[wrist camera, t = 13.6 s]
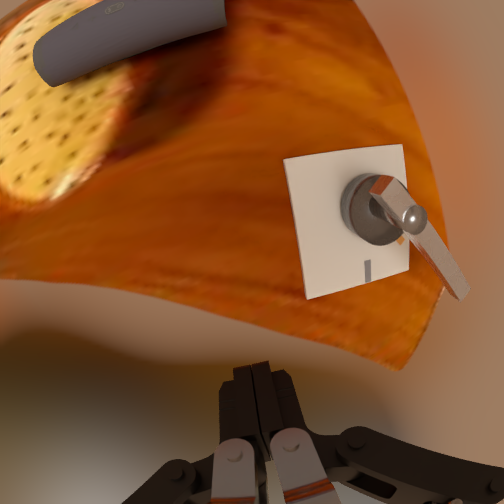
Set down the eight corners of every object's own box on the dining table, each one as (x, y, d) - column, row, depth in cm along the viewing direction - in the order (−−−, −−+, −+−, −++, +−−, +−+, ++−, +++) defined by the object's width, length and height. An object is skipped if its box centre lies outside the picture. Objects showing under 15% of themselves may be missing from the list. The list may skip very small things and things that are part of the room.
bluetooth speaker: (214, -7, 25) (213, -46, 16) (227, 42, 28) (229, 7, 19) (66, 45, 25) (31, 25, 15) (70, 96, 28) (30, 84, 18)
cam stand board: (282, 159, 34) (284, 159, 33) (398, 144, 35) (402, 144, 33) (305, 296, 41) (307, 300, 40) (405, 267, 41) (409, 270, 40)
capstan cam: (318, 201, 35) (360, 223, 24) (359, 150, 33) (414, 152, 22) (404, 285, 41) (447, 322, 29) (436, 243, 39) (484, 270, 28)
